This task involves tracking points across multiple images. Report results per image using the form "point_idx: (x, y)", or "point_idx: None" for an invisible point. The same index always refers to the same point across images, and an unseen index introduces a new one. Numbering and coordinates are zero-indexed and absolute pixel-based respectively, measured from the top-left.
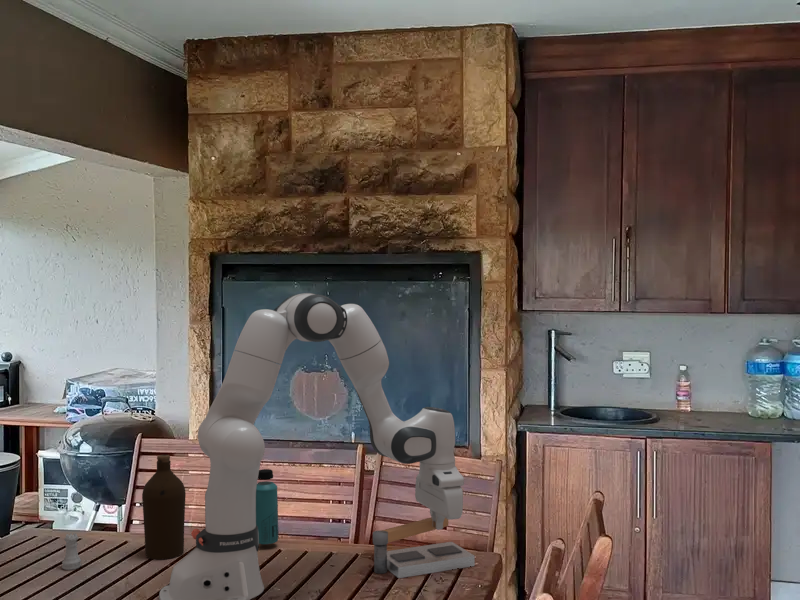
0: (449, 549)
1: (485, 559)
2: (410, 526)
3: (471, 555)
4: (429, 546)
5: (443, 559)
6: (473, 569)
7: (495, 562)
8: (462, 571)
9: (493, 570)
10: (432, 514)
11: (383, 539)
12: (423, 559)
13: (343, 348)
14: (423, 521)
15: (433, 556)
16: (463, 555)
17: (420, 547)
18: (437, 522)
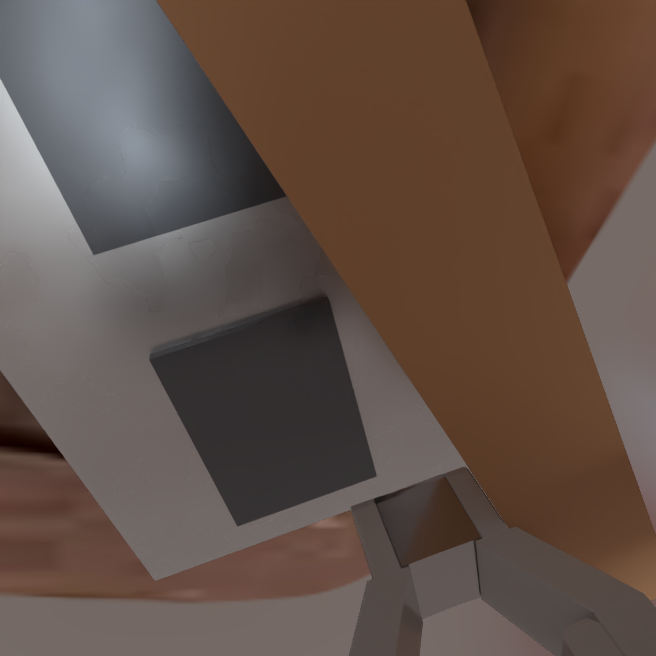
0: (284, 455)
1: (271, 564)
2: (275, 157)
3: (158, 566)
4: None
5: (55, 401)
6: (97, 517)
7: (217, 601)
8: (52, 463)
9: (81, 598)
10: (566, 607)
11: None
12: (42, 228)
13: None
14: (517, 421)
15: (142, 329)
16: (159, 527)
17: None
18: (367, 593)
